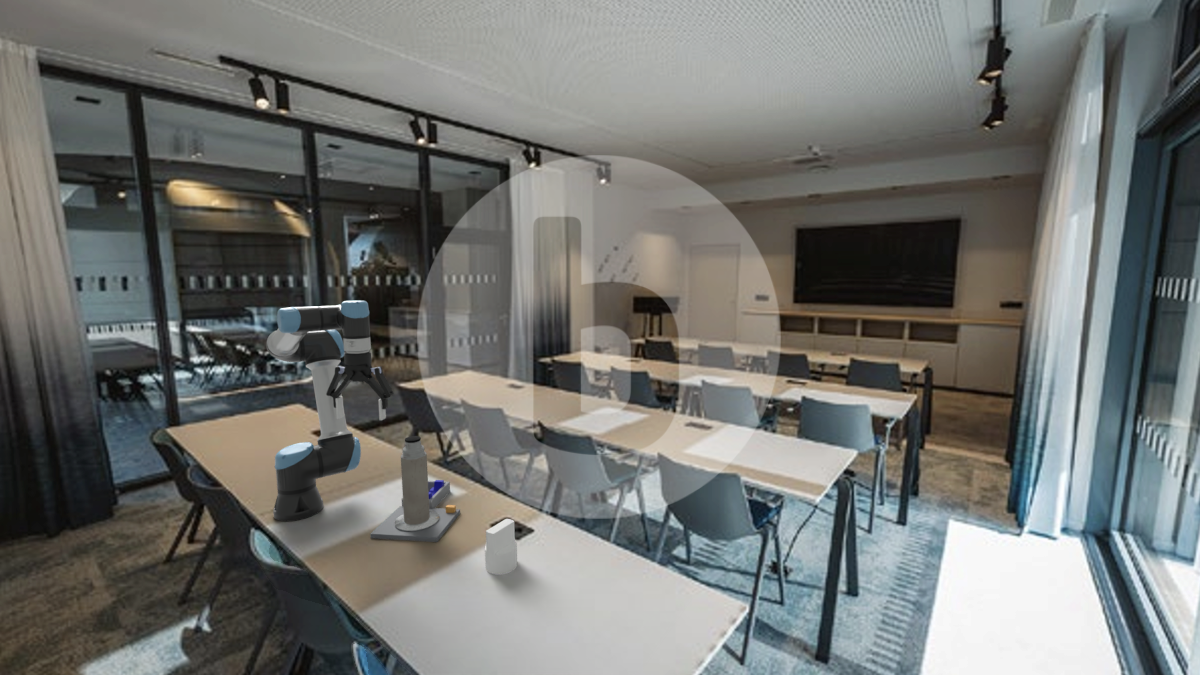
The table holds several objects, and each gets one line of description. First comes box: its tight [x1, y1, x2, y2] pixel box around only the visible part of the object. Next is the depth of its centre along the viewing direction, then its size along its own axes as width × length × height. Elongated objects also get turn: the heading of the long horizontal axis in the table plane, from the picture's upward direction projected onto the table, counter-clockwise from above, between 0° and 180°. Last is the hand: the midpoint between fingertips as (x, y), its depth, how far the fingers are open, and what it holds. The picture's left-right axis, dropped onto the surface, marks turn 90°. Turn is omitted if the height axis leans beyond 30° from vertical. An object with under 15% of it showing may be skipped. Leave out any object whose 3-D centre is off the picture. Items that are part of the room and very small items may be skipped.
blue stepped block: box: [428, 479, 445, 499], centre depth 187 cm, size 12×4×6 cm, turn 174°
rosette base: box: [369, 504, 461, 543], centre depth 170 cm, size 22×19×4 cm
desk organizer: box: [401, 480, 451, 508], centre depth 188 cm, size 11×16×4 cm
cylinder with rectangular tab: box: [484, 518, 518, 576], centre depth 146 cm, size 9×9×12 cm
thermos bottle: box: [400, 435, 430, 525], centre depth 168 cm, size 8×8×28 cm
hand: (361, 418), depth 160 cm, fingers open, 13 cm apart
